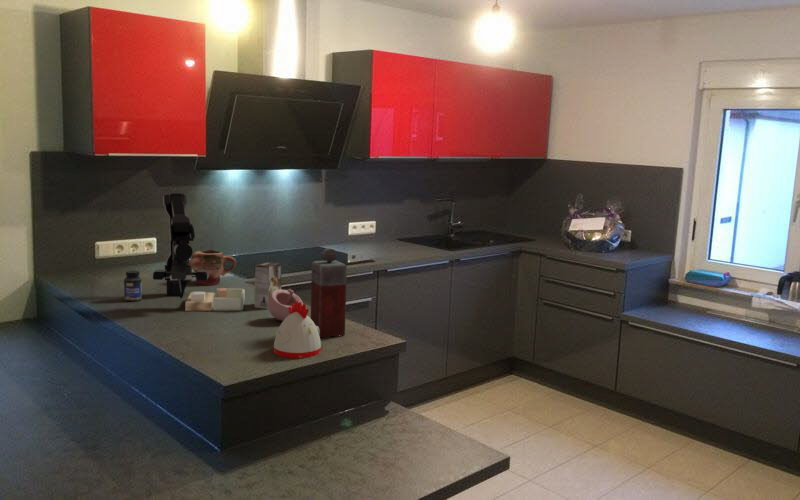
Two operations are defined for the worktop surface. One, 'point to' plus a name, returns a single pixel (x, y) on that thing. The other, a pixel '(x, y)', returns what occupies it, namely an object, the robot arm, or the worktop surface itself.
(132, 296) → the pill bottle
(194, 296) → the offwhite tile
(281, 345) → the kitchen timer
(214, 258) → the decorative planter
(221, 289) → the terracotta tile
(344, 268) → the red square decanter
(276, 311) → the mortar and pestle
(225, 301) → the tray
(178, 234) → the robot arm
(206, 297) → the oak board
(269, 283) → the coffee box
